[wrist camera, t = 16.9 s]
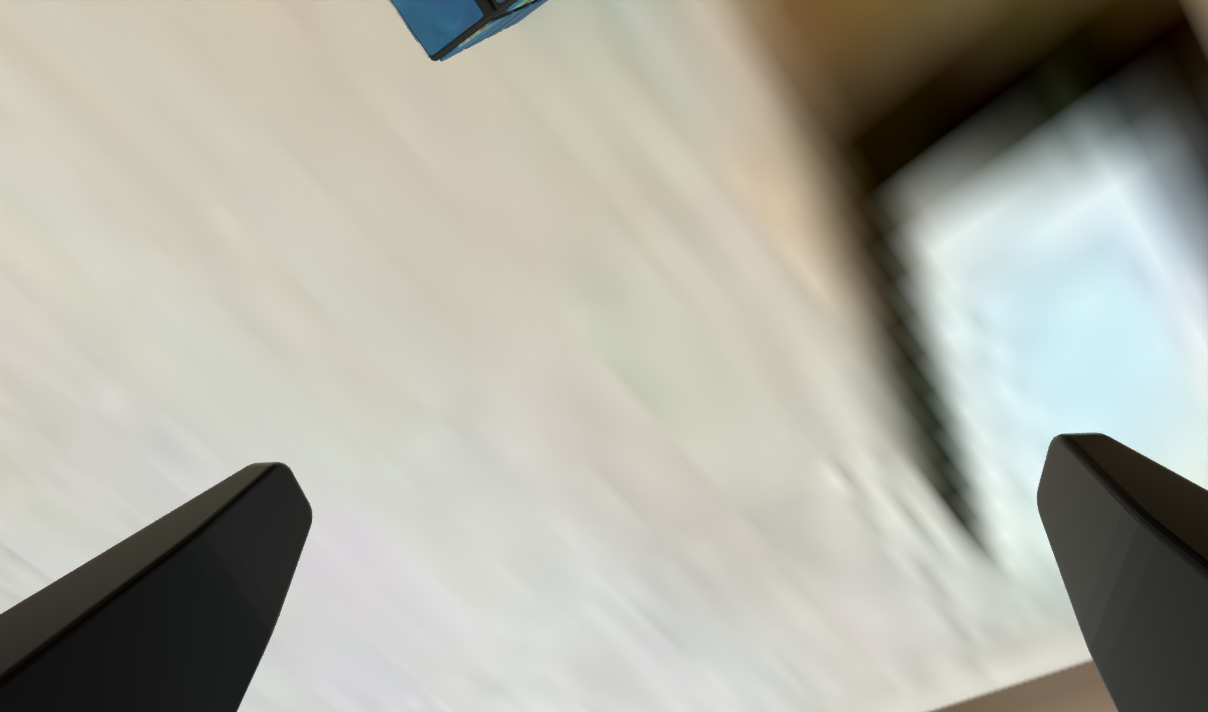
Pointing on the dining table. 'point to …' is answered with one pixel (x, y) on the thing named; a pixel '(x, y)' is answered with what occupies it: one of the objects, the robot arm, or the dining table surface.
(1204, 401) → the dining table surface
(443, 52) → the puzzle
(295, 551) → the robot arm
